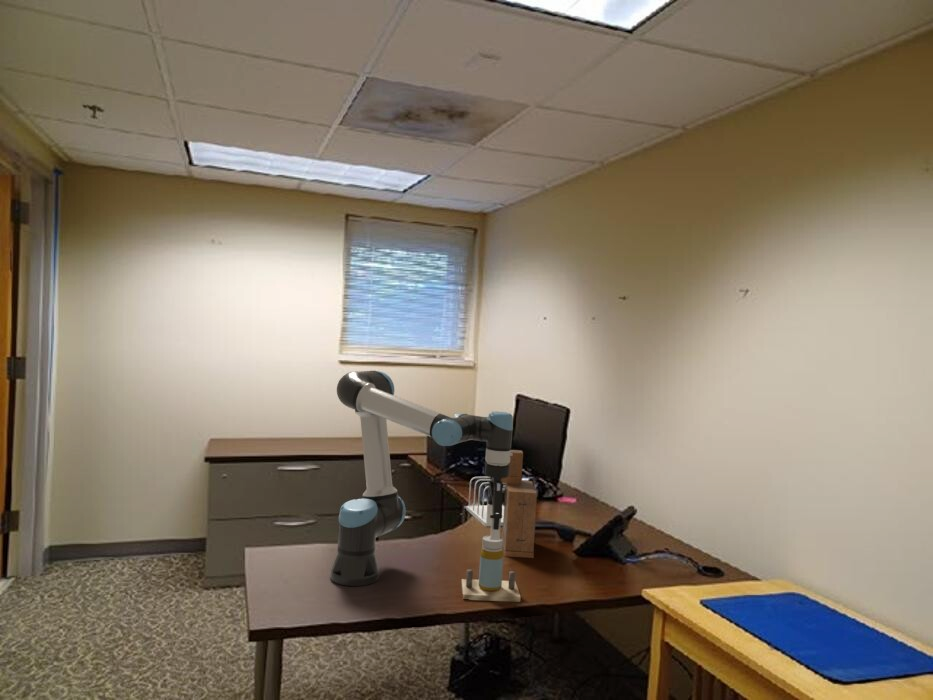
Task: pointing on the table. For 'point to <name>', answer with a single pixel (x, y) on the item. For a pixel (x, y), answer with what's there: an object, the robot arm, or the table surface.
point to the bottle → (491, 564)
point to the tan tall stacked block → (518, 511)
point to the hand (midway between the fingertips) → (492, 532)
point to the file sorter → (481, 510)
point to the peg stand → (503, 594)
